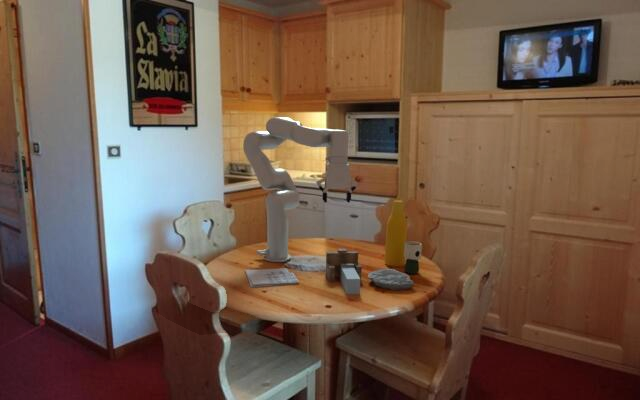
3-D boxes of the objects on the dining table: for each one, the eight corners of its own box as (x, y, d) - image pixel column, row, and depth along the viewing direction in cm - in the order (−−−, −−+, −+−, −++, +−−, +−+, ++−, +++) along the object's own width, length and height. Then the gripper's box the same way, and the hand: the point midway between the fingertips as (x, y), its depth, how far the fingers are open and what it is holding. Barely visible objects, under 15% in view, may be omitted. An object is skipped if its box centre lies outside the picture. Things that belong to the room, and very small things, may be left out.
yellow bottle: (399, 268, 208) (402, 203, 203) (380, 264, 214) (383, 200, 209) (408, 263, 215) (412, 201, 211) (390, 259, 221) (394, 198, 216)
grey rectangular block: (346, 294, 175) (346, 276, 174) (340, 280, 191) (340, 263, 190) (359, 294, 176) (360, 276, 175) (352, 280, 191) (353, 263, 190)
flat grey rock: (359, 278, 194) (359, 271, 194) (395, 274, 200) (396, 267, 200) (381, 294, 176) (382, 287, 176) (421, 290, 182) (421, 282, 182)
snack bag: (250, 288, 179) (250, 283, 179) (244, 272, 199) (244, 267, 198) (299, 285, 185) (299, 280, 184) (289, 269, 204) (289, 265, 203)
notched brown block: (329, 281, 188) (330, 254, 186) (325, 275, 196) (326, 248, 194) (361, 280, 190) (362, 253, 188) (355, 274, 199) (356, 248, 197)
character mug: (414, 277, 196) (416, 247, 194) (398, 274, 200) (400, 244, 198) (424, 271, 205) (426, 242, 203) (409, 268, 209) (410, 239, 207)
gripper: (318, 161, 187) (317, 203, 190) (361, 161, 190) (359, 203, 193) (315, 159, 195) (314, 200, 197) (356, 160, 198) (354, 200, 201)
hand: (336, 202), depth 195 cm, fingers open, 9 cm apart
